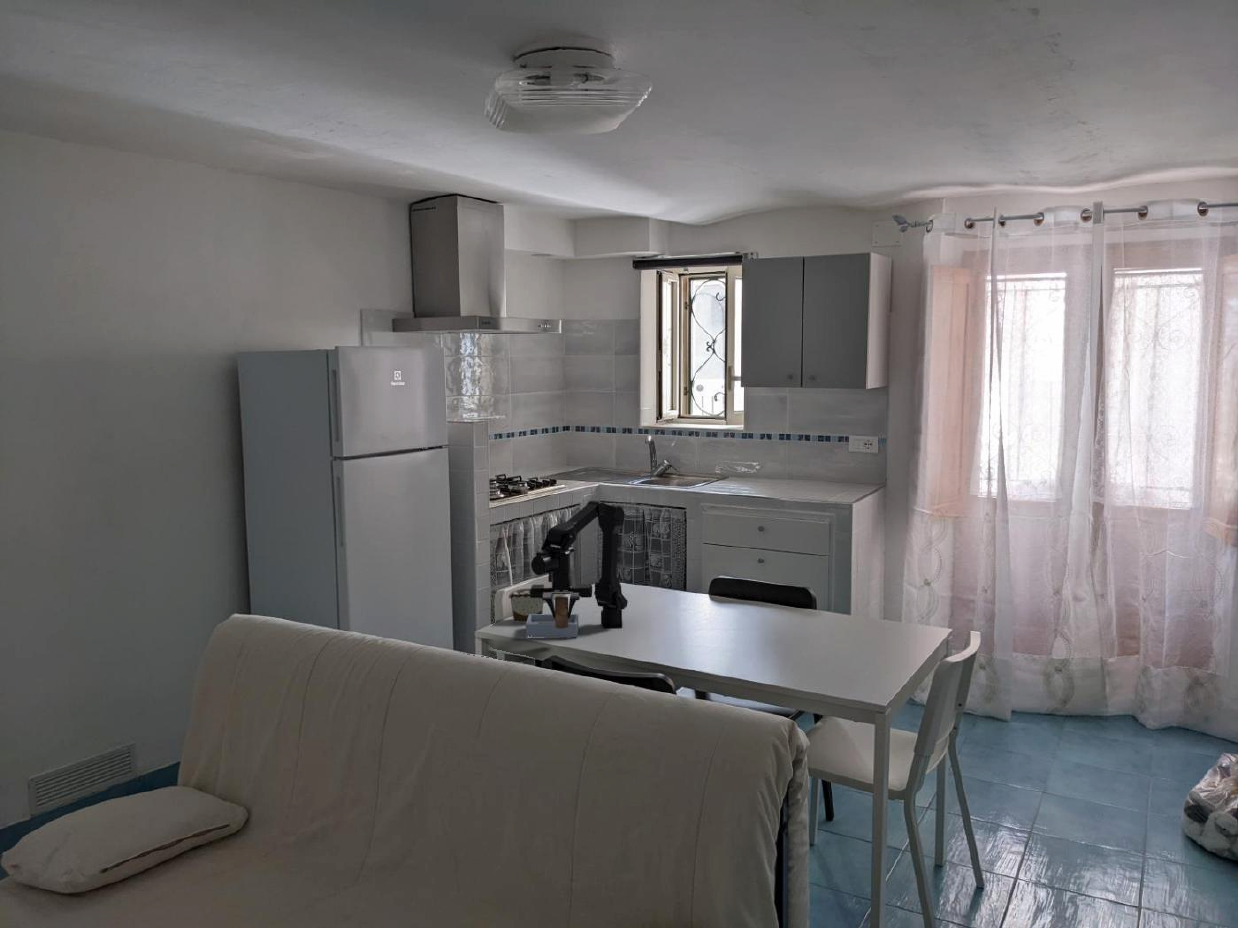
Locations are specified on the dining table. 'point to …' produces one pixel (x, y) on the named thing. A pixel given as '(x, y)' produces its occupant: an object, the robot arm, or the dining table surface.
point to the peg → (561, 612)
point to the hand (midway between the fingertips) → (561, 618)
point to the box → (550, 626)
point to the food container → (524, 604)
